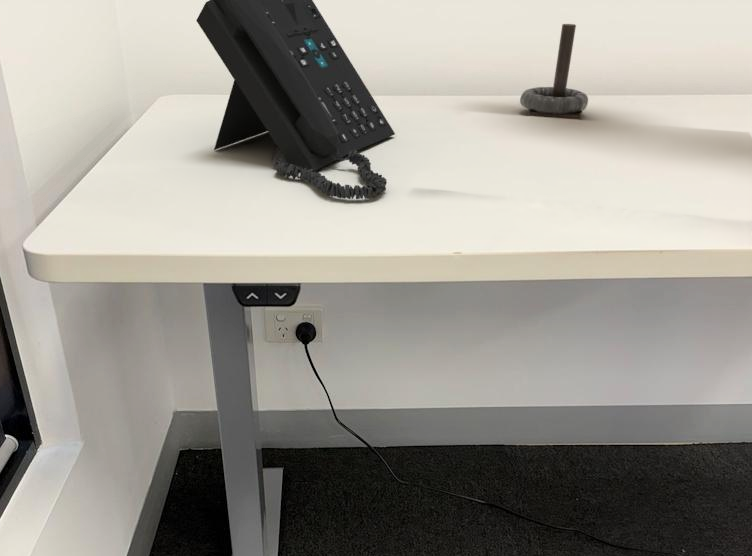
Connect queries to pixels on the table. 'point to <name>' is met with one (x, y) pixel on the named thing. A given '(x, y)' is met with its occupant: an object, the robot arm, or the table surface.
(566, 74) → the stand
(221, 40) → the office phone
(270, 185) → the table surface
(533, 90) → the ring
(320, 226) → the table surface
